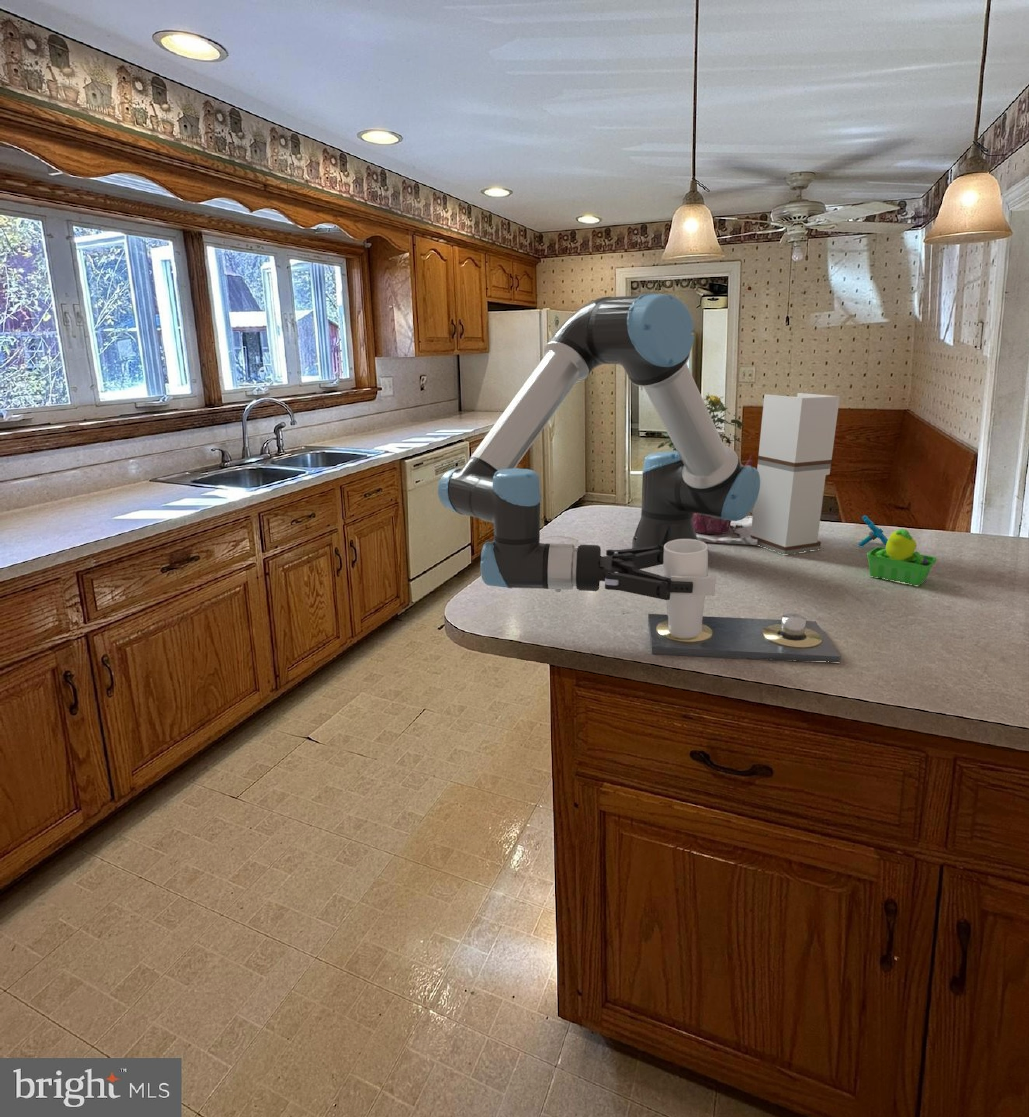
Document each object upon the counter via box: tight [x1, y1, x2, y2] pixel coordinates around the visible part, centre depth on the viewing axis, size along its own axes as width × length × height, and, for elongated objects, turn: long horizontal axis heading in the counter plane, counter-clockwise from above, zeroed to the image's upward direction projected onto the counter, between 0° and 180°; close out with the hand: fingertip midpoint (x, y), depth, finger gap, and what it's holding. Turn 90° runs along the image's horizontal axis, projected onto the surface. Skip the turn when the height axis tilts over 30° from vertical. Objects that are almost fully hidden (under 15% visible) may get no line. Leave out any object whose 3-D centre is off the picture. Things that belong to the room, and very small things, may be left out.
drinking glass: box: [662, 539, 709, 639], centre depth 112 cm, size 7×7×15 cm
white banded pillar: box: [751, 392, 841, 555], centre depth 162 cm, size 11×11×35 cm
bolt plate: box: [647, 613, 842, 663], centre depth 115 cm, size 28×14×4 cm, turn 82°
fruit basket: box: [866, 528, 937, 586], centre depth 142 cm, size 11×9×11 cm
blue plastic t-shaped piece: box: [857, 515, 889, 547], centre depth 166 cm, size 11×6×10 cm
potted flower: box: [657, 393, 758, 546], centre depth 177 cm, size 27×25×35 cm
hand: (709, 572), depth 113 cm, fingers open, 13 cm apart
